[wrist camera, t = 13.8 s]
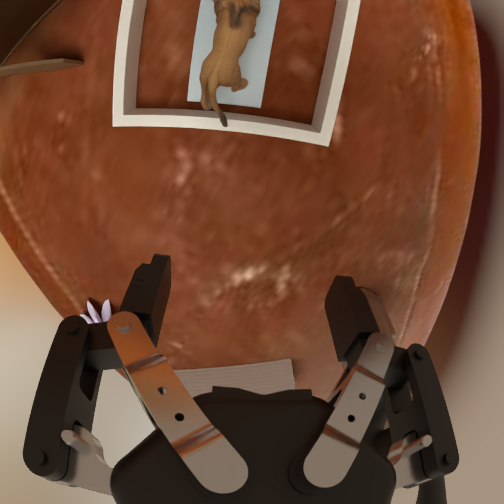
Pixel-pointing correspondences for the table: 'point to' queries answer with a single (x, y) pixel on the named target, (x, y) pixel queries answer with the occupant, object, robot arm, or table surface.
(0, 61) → the photo frame
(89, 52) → the table surface
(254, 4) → the lion figurine
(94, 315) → the water lily
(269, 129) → the low pen
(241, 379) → the stack of papers
